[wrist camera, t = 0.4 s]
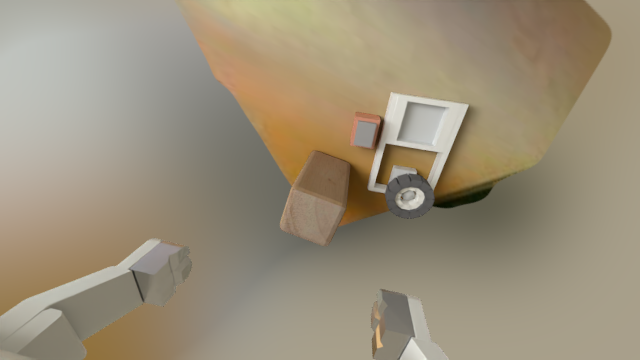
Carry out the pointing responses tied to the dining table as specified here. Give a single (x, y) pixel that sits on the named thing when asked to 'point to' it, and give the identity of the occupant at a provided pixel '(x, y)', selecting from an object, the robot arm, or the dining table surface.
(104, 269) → the robot arm
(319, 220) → the wooden block
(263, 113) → the dining table surface
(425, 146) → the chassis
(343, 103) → the dining table surface
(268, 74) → the dining table surface
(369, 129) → the two-tone grey-capped cube
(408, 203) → the wheel
